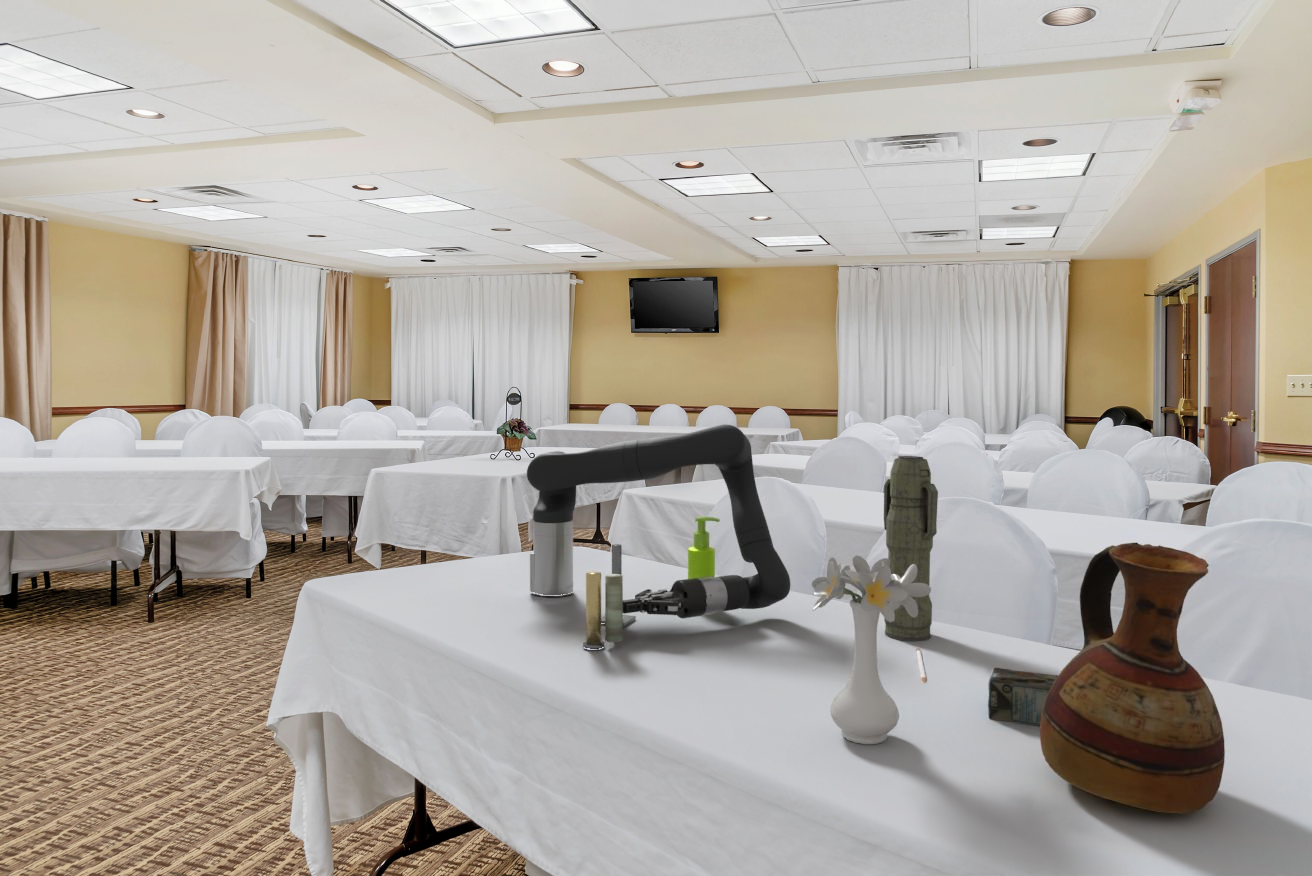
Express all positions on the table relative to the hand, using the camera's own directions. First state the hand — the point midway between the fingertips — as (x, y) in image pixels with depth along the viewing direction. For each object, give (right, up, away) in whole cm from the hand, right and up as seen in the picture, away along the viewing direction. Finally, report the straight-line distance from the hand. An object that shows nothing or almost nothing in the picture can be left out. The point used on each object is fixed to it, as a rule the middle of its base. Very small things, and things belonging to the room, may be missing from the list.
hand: (620, 607), depth 171 cm
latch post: (-5, -7, -4) cm, 9 cm away
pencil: (+53, -8, -15) cm, 56 cm away
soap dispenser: (+17, -5, +26) cm, 31 cm away
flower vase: (+36, -9, -45) cm, 59 cm away
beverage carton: (+66, -9, -40) cm, 77 cm away
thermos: (+56, -6, +5) cm, 57 cm away
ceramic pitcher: (+64, -10, -62) cm, 90 cm away
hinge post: (-1, -6, +14) cm, 15 cm away
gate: (-1, -5, +3) cm, 6 cm away
